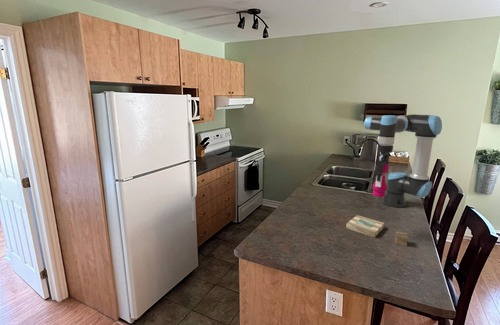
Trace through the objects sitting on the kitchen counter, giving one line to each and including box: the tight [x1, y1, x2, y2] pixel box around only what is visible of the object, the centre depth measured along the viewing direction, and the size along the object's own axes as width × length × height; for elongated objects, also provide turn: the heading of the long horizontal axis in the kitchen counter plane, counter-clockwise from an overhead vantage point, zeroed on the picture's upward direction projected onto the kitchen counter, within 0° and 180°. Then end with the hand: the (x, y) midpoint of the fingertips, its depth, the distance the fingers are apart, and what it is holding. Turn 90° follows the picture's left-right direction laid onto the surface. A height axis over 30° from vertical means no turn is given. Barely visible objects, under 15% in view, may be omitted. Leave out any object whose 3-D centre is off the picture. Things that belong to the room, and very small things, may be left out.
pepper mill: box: [372, 164, 390, 198], centre depth 149 cm, size 7×7×20 cm
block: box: [394, 231, 409, 247], centre depth 142 cm, size 5×5×5 cm
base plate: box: [345, 214, 385, 238], centre depth 158 cm, size 16×16×3 cm
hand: (380, 185), depth 150 cm, fingers closed on pepper mill, 6 cm apart
